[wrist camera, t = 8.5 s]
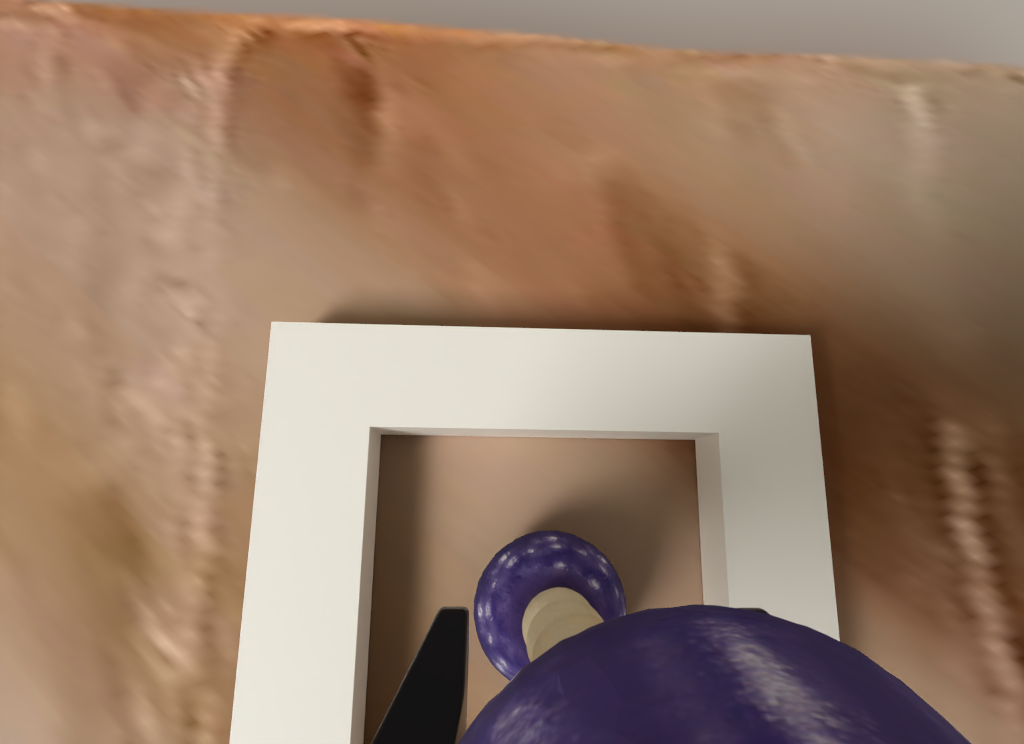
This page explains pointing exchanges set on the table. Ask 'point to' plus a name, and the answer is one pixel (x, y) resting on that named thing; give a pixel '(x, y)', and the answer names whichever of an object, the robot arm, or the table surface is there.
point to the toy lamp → (668, 666)
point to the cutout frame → (506, 413)
